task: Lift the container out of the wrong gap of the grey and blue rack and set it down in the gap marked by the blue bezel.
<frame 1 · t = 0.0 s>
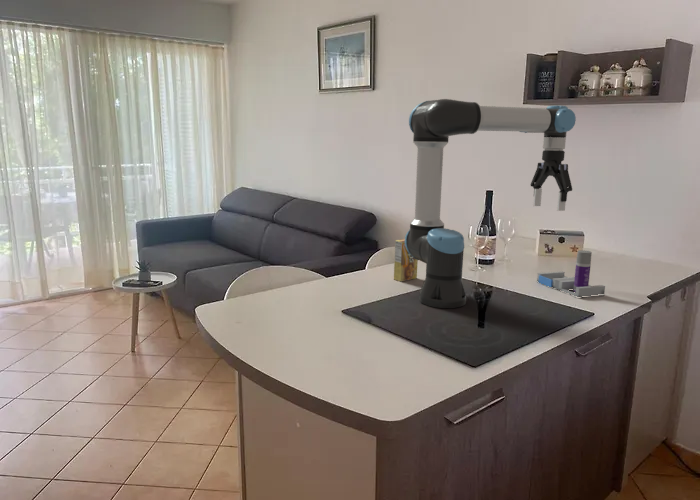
hand: (548, 208, 197), 28 cm above the counter, fingers open, 13 cm apart
candy box: (405, 279, 204), on the counter
grey and blue rack: (568, 288, 193), on the counter
container: (580, 293, 188), resting in grey and blue rack
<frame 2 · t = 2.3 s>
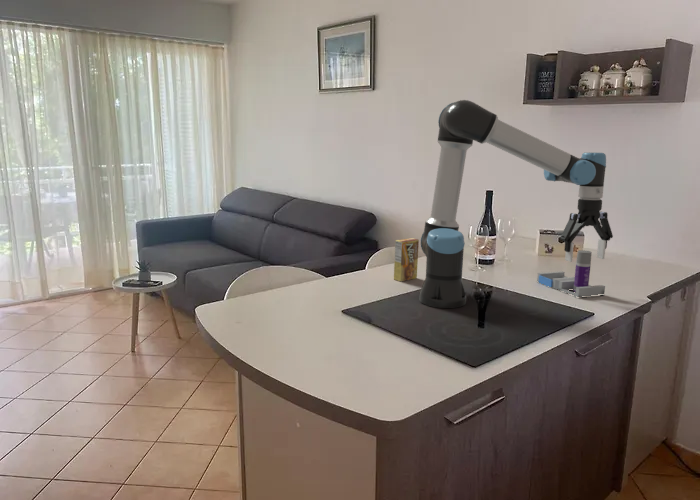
hand: (584, 259, 185), 12 cm above the counter, fingers open, 13 cm apart
nothing on the counter moved.
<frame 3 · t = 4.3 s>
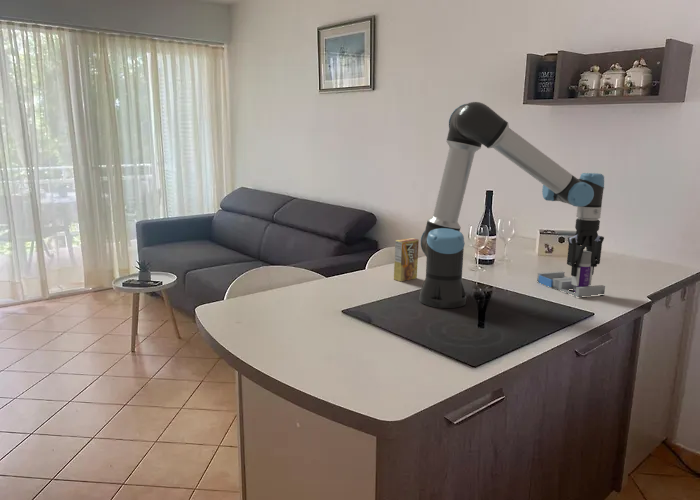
hand: (581, 284, 187), 3 cm above the counter, fingers closed on container, 5 cm apart
container: (580, 293, 188), resting in grey and blue rack, touching gripper
everything else where it was.
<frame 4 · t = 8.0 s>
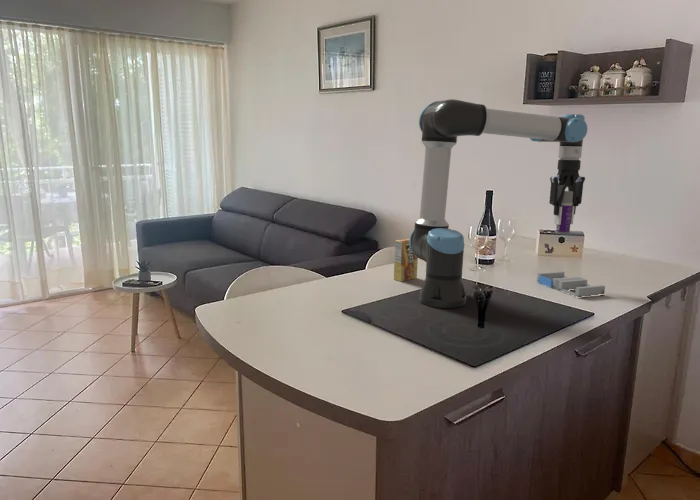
hand: (563, 223, 194), 23 cm above the counter, fingers closed on container, 5 cm apart
container: (562, 233, 195), point 19 cm above the counter, touching gripper
everything else where it was.
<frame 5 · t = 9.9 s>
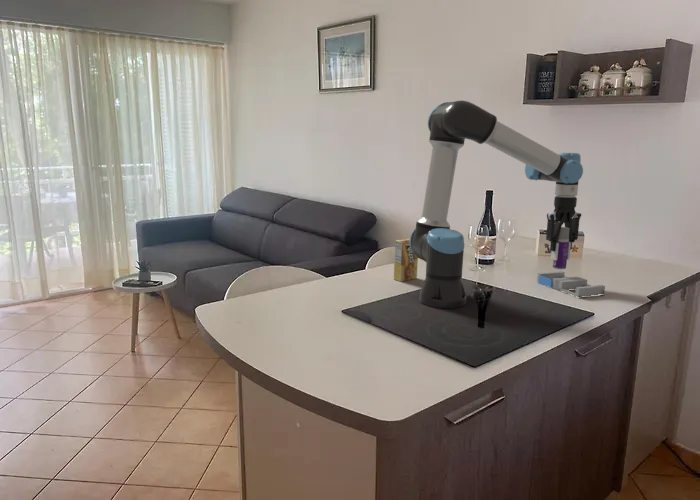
hand: (560, 259, 197), 10 cm above the counter, fingers closed on container, 5 cm apart
container: (559, 268, 198), point 6 cm above the counter, touching gripper
everything else where it was.
when the fingers open (5 cm above the counter, at t = 11.8 s): container drops 1 cm, resting in grey and blue rack.
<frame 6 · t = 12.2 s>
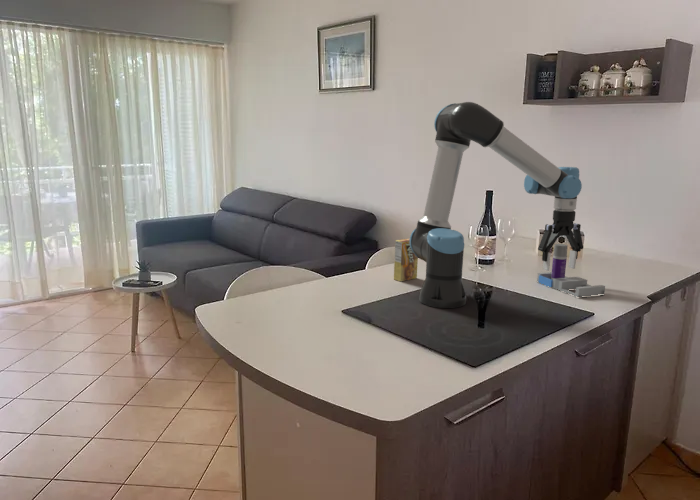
hand: (558, 268, 198), 6 cm above the counter, fingers open, 11 cm apart
container: (557, 285, 199), resting in grey and blue rack
everything else where it was.
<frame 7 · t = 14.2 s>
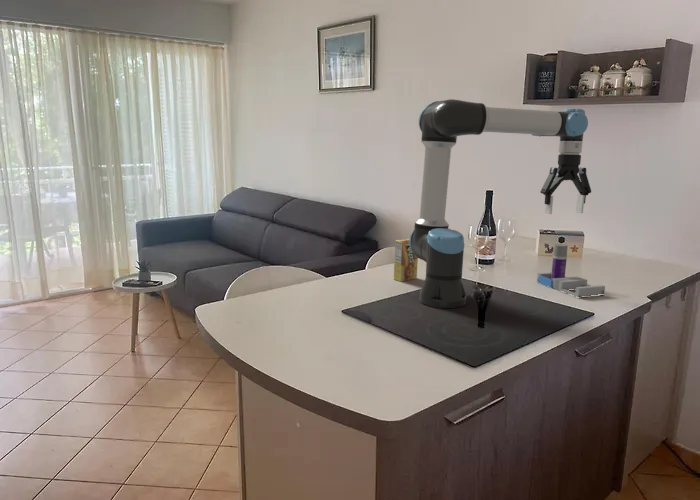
hand: (564, 213, 194), 27 cm above the counter, fingers open, 13 cm apart
nothing on the counter moved.
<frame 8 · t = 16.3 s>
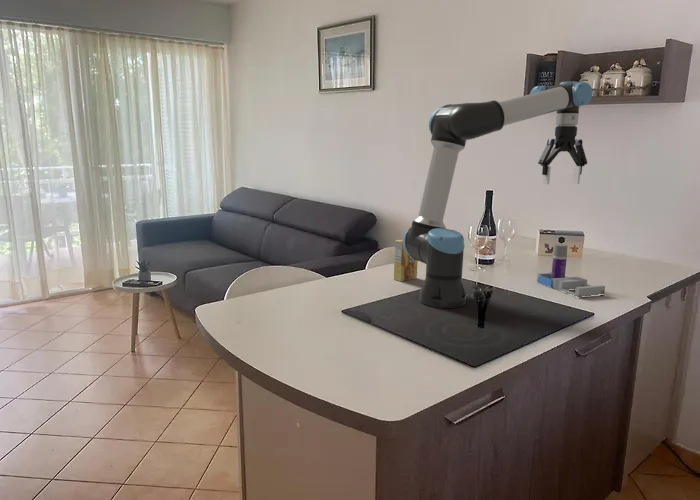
hand: (561, 183, 200), 37 cm above the counter, fingers open, 13 cm apart
nothing on the counter moved.
at the end: container 0.1 cm from the target spot on the grey and blue rack, point 0.0 cm above the grey and blue rack's base; container tilted 0°; the gripper is holding nothing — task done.
